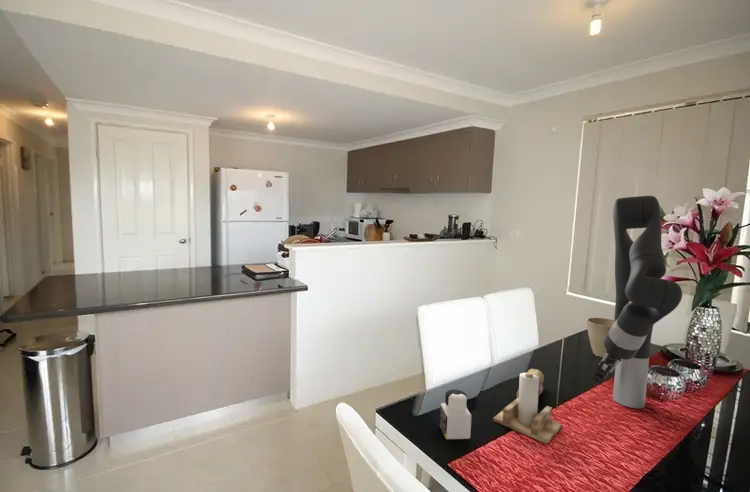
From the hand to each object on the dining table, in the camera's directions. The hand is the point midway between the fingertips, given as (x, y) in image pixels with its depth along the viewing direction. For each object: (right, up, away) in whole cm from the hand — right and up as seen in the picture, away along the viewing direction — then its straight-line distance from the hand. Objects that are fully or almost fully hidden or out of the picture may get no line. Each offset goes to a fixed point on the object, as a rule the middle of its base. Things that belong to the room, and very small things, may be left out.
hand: (603, 373), depth 108 cm
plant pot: (+40, -15, +67) cm, 79 cm away
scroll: (-10, -17, +25) cm, 32 cm away
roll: (-19, -17, +7) cm, 26 cm away
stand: (-19, -18, +7) cm, 27 cm away
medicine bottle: (-42, -18, +2) cm, 46 cm away
